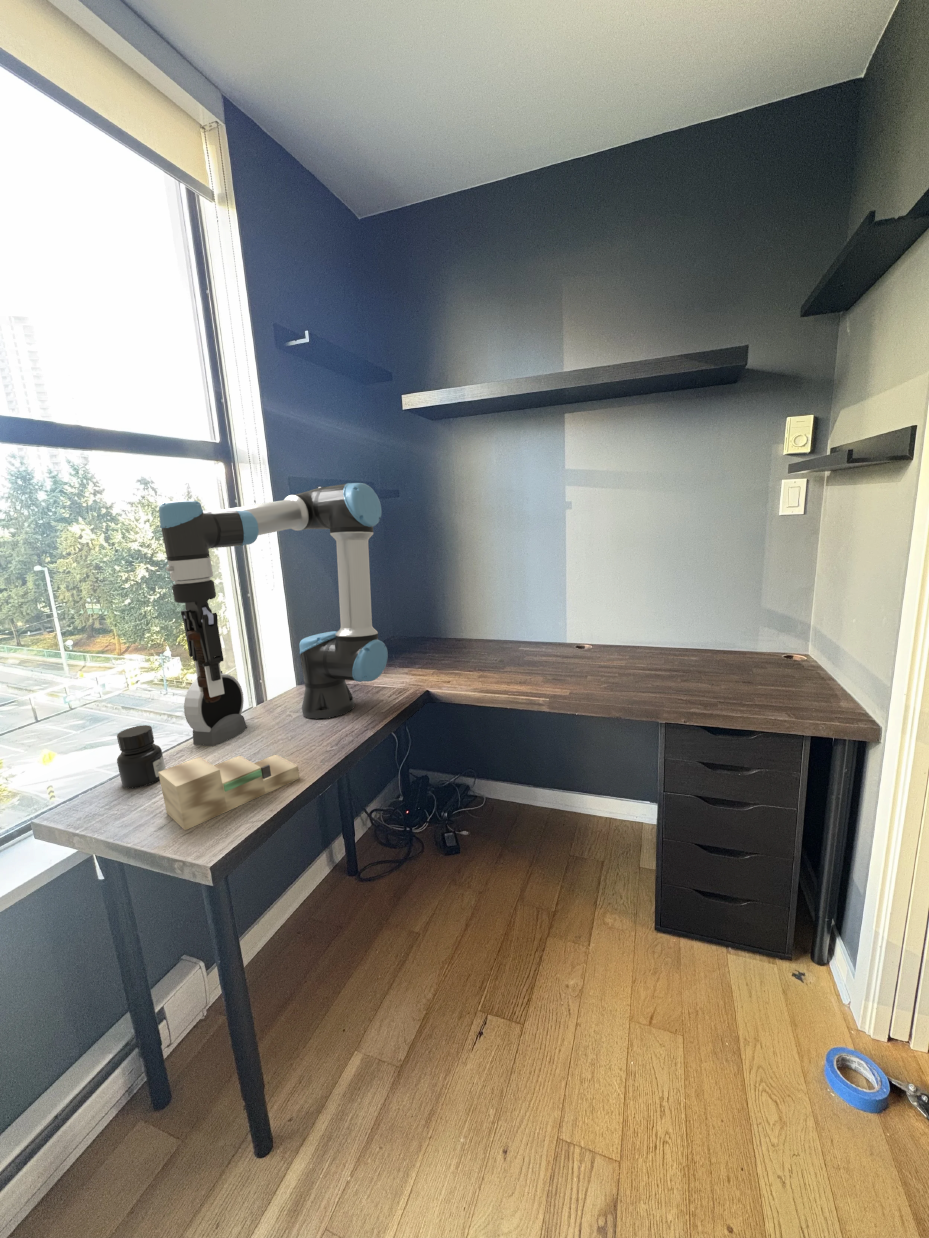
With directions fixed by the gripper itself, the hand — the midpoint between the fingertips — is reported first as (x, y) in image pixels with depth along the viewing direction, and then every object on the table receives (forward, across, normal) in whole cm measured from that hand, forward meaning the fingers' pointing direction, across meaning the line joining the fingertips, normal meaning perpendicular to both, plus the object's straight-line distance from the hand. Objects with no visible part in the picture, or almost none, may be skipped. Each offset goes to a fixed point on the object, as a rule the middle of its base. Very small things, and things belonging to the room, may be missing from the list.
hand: (212, 692), depth 109 cm
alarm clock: (+22, -34, +11) cm, 42 cm away
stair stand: (+22, +3, 0) cm, 22 cm away
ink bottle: (+22, -23, -10) cm, 34 cm away
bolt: (+2, 0, 0) cm, 2 cm away
